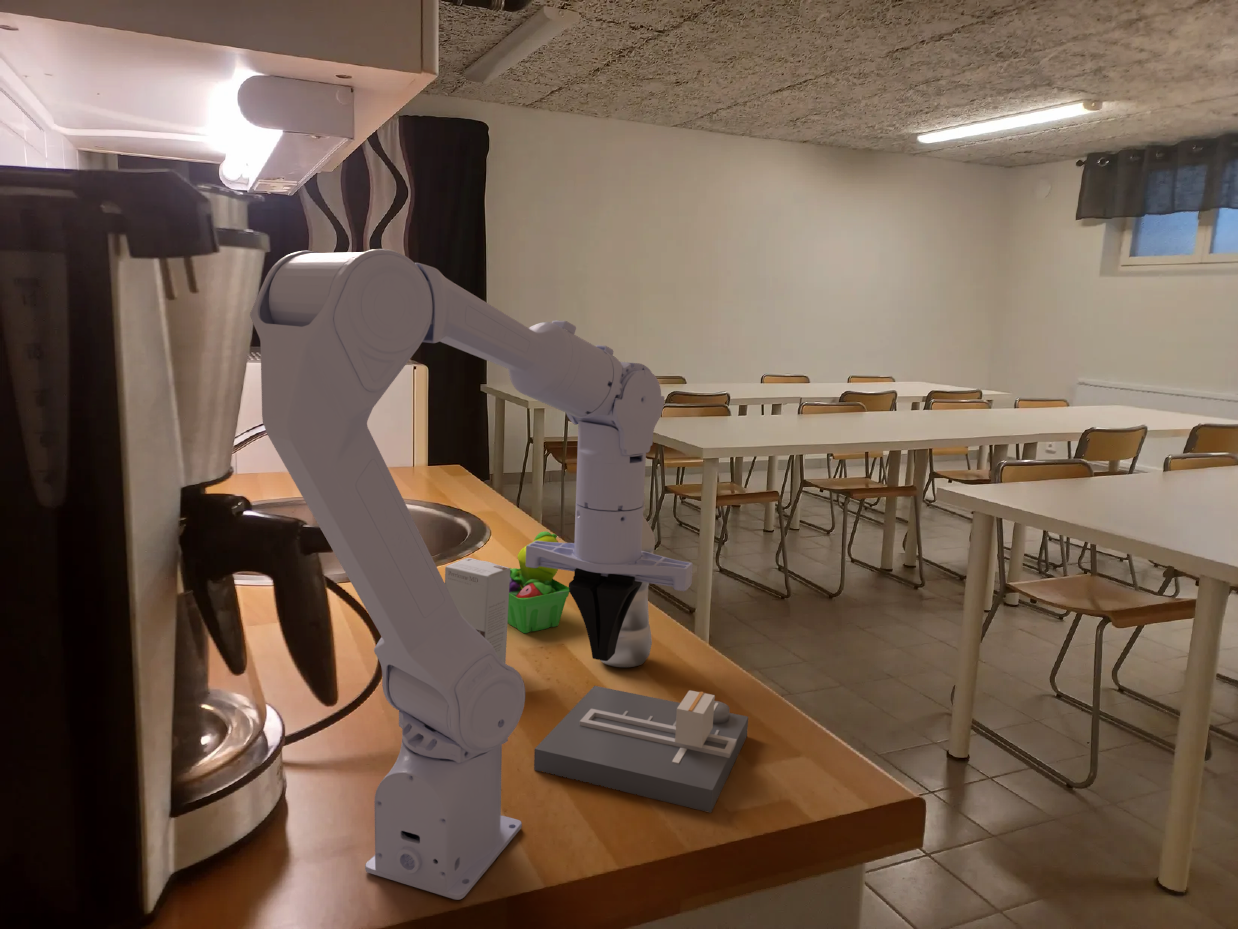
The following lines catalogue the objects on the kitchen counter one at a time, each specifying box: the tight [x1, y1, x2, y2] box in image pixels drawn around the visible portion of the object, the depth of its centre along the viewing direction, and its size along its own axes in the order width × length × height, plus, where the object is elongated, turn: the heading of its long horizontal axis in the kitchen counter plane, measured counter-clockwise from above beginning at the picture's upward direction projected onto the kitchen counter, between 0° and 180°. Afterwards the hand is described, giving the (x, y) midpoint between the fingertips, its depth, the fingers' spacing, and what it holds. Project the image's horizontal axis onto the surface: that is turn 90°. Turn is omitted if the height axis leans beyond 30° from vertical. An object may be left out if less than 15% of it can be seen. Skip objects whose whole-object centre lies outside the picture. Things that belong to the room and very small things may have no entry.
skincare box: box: [444, 557, 511, 664], centre depth 94 cm, size 6×4×12 cm
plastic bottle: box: [599, 492, 656, 668], centre depth 97 cm, size 6×7×20 cm
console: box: [533, 685, 749, 813], centre depth 79 cm, size 14×16×3 cm
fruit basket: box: [507, 530, 570, 634], centre depth 111 cm, size 11×9×11 cm
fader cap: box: [675, 689, 715, 748], centre depth 77 cm, size 4×2×4 cm, turn 160°
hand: (603, 655), depth 75 cm, fingers closed
